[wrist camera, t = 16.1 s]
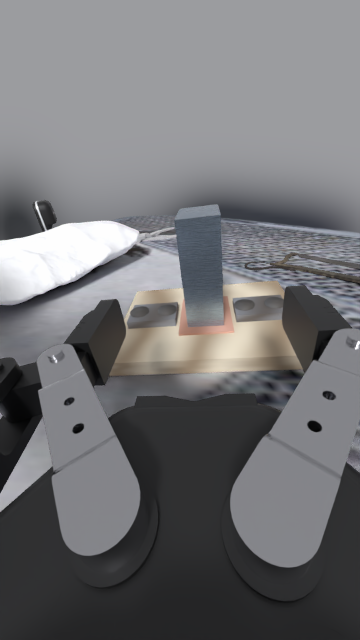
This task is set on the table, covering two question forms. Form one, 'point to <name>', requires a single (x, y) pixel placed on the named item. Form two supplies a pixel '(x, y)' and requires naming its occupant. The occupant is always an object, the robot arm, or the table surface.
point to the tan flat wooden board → (206, 334)
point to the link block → (201, 264)
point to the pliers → (147, 236)
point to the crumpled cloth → (58, 257)
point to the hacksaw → (311, 270)
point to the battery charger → (44, 214)
